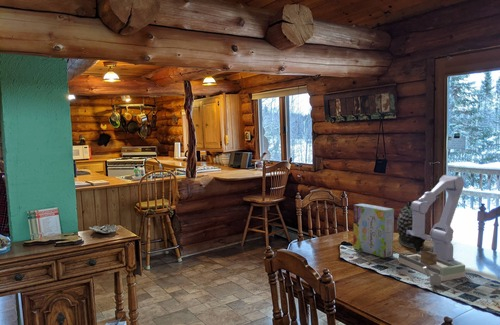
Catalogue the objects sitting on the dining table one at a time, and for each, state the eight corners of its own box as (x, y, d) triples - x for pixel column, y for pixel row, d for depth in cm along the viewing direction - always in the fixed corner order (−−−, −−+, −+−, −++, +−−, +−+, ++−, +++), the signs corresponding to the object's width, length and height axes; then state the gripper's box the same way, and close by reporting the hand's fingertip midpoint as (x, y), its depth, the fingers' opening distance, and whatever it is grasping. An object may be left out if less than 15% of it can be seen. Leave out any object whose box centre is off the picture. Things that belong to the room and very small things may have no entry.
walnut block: (428, 260, 198) (428, 251, 197) (436, 264, 193) (436, 254, 192) (420, 262, 196) (420, 252, 195) (428, 265, 191) (428, 255, 191)
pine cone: (431, 249, 223) (432, 205, 220) (404, 250, 223) (405, 206, 221) (416, 239, 244) (417, 199, 241) (391, 239, 244) (392, 199, 241)
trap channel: (419, 258, 209) (419, 248, 209) (465, 276, 183) (465, 265, 182) (398, 261, 204) (398, 251, 204) (441, 281, 178) (442, 269, 178)
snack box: (394, 255, 214) (395, 208, 212) (384, 258, 209) (384, 210, 207) (362, 246, 232) (362, 202, 229) (352, 248, 227) (352, 204, 224)
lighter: (439, 284, 175) (440, 266, 174) (440, 285, 173) (441, 268, 172) (422, 283, 176) (422, 265, 176) (423, 284, 175) (423, 267, 174)
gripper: (402, 222, 205) (401, 248, 206) (423, 229, 191) (422, 256, 192) (412, 221, 207) (412, 246, 208) (434, 227, 194) (433, 254, 195)
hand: (417, 251), depth 200 cm, fingers closed
